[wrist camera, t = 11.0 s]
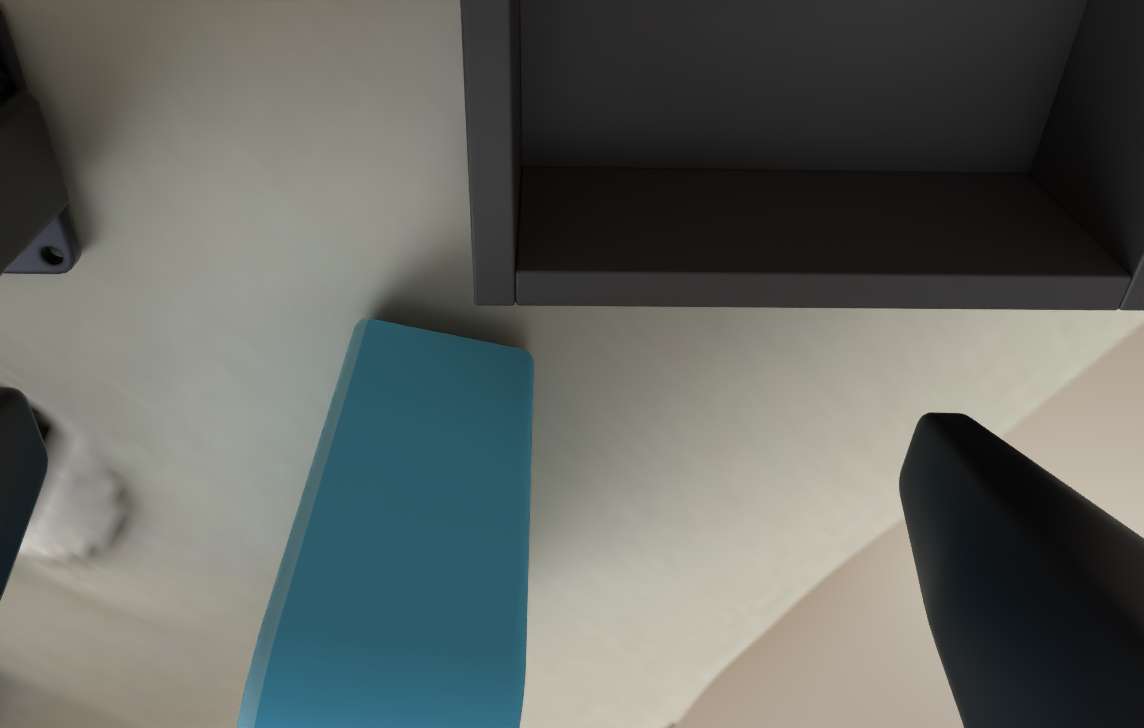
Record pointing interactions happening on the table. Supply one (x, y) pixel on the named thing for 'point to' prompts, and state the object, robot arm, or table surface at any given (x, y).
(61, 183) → the robot arm
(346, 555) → the data package
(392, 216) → the table surface
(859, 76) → the black box
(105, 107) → the table surface
